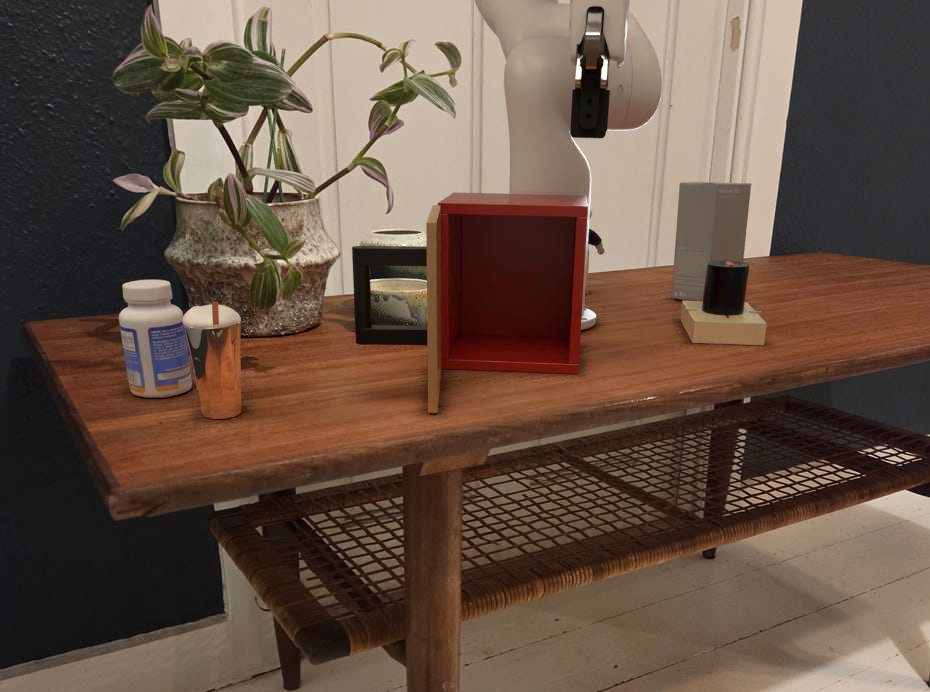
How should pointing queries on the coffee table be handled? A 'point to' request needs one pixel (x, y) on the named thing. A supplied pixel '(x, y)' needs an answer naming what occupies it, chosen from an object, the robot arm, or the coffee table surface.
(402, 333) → the door
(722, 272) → the knob
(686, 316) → the panel
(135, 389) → the pill bottle
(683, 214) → the cosmetic box
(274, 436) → the coffee table surface
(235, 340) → the milkshake
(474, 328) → the red cabinet
